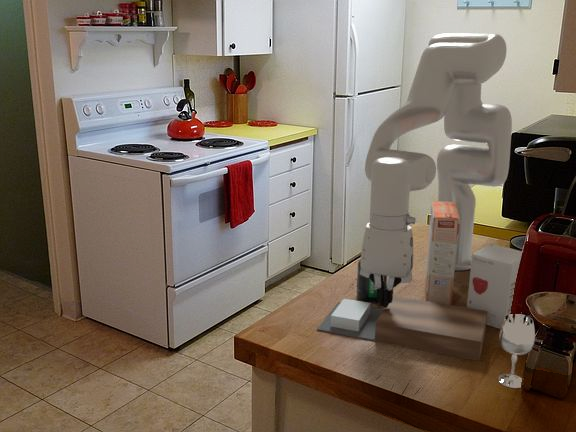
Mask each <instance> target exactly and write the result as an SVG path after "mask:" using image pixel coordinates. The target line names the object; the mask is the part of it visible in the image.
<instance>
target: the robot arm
mask: <svg viewBox="0 0 576 432" xmlns="http://www.w3.org/2000/svg"><path fill="white" fill-rule="evenodd" d="M506 57H507V43H506V40H505V38H504V37H503V36H502V35H501V34H497V33H471V32H470V33H468V32H467V33H465V32H453V33H452V32H451V33H447V32H446V33H440V34H436V35H434V36H433V37H431V38H430V40H429V42H428V46H427V47H426V48H425V49H424V50H423V52H422V54H421V56H420V59H419V63H418V65H417V68H416V72H415V75H414V78H413V81H412V84H411V87H410V90H409V93H408V96H407V99H406V102H405V103H404V104H403V105H401V106H400V107H399V108H397V109H395V110H394V111H393V112H392V113H391V114H389V116H387V118H386V119H385V120H384V121H382V123H380V125H379V126H378V127H377V129H376V131H375V132H374V134H373V136H372V139H371V142H370V145H369V148H368V152H367V154H366V158H365V164H364V173H365V176H366V178H367V179H368V181H369V182H370V200H369V203H370V204H369V222H367V224H366V225H365V229H364V234H363V239H362V244H361V253H360V259H361V270H360V275H362V276H364V277H367V278H370V279H371V281H372V282H373V283H374V284H375V287H376V288H377V301H379V303H378V307H380V308H382V307H383V308H387V306H388V305H389V303H392V300H393V296H394V288H395V287H397V286H399V284H408V283H412V281H413V279H414V278H413V274H412V271H413V268H414V236H413V235H414V234H413V229H412V227H411V226H410V225H415V224H416V217H413V216H411V214H410V212H409V207H410V192H416V191H422V190H425V189H427V188H428V187H429V186H430V185H431V184H432V183H433V182H434V180H435V178H436V174H437V182H438V183H437V184H438V186H437V187H438V191H437V201H439V202H454V203H456V206H457V211H458V215H459V219H460V221H459V231H458V241H457V251H456V261H455V271H467V270H471V260H472V246H473V233H474V226H475V225H474V224H475V213H476V205H477V204H476V203H477V202H476V196H475V195H476V194H475V193H474V191H473V190H472V187H471V186H470V185H477V186H483V187H484V186H485V187H499V186H502V185H504V184H505V183H506V181H507V180H508V179H507V178H508V174H509V169H510V161H511V159H510V158H511V145H512V143H511V142H512V133H513V132H512V131H513V130H512V129H513V128H512V127H513V126H512V125H513V120H512V114H511V111H510V110H509V109H508V107H506V106H505V105H504V104H503V105H502V104H498V103H497V104H495V103H483V102H482V84H483V83H486V82H487V81H488V80H490V79H491V78H493V76H494V75H496V74H497V73H498V72H499V71H500V70H501V68H502V67H503V65H504V63H505V60H506ZM442 119H443V129H444V133H445V136H446V137H447V138H449V139H450V140H453V141H459V142H468V143H476V144H477V143H478V144H485V145H486V146H487V147H486V146H478V145H470V144H469V145H468V144H461V143H460V144H459V143H454V144H448V145H445V146H443V147H442V148H441V149H440V150H439V152H438V154H437V157H436V162H435V161H434V158H432V156H430V155H428V154H426V153H422V152H416V151H415V152H414V151H407V150H401V149H400V150H398V149H392V145H393V144H394V143H395V141H396V140H398V139H399V138H401V137H402V136H403V135H405V134H407V133H409V132H411V131H415V130H417V129H420V128H423V127H426V126H429V125H431V124H434V123H436V122H439V121H440V120H442ZM384 276H387V285H386V284H385V282H384Z"/></svg>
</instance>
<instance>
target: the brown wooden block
mask: <svg viewBox="0 0 576 432" xmlns="http://www.w3.org/2000/svg"><path fill="white" fill-rule="evenodd" d="M383 308H384V307H383ZM382 310H383V311H382V313H381V315H380V316H379V318H378V320H377V322H376V326H375V340H374V342H379V343H382V344H388V345H393V346H399V347H403V348H410V349H415V350H419V351H425V352H430V353H436V354H440V355H446V356H450V357H451V356H452V357H457V358H462V359H468V360H473V361H476V362H477V361H478V362H480V359H481V353H482V349H483V344H484V339H485V334H486V331H487V324H486V323H487V314H488V311H484V310H478V309H472V308H467V307H465V306H458V305H452V304H451V305H447V304H440V303H434V302H428V301H426V300H421V299H415V298H414V299H413V298H409V297H408V298H407V297H402V296H398V295H397V296H395V295H393V300H392V303H389V305H388V306H387V308H384V309H382Z"/></svg>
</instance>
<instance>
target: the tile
mask: <svg viewBox="0 0 576 432" xmlns="http://www.w3.org/2000/svg"><path fill="white" fill-rule="evenodd" d="M370 308H371V303H367V302H363V301H361V300H355V299H348V298H343V299H342V300H341V302H340V304H339V306H338V307H337V308H336V310H335V311H334V312H333V314H332V315H331V327H337V328H342V329H348V330H353V331H358V332H359V330H360V329H361V327H362V326H363V324H364V322H365V321H366V319H367V318H368V316H369V314H370Z"/></svg>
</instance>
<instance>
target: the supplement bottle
mask: <svg viewBox="0 0 576 432" xmlns="http://www.w3.org/2000/svg"><path fill="white" fill-rule="evenodd" d="M360 270H361V258H360V259H359V260H358V262H357V271H356V272H357V276H356V298H357V299H358V301H361V302H367V303H370V304H379V301H377V288H376V287H375V284H374V283H373V282H372V281H371V279H370V278H367V277H364V276H362V275H360ZM384 282H385V284H386V285H387V283H388V276H384Z"/></svg>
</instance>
